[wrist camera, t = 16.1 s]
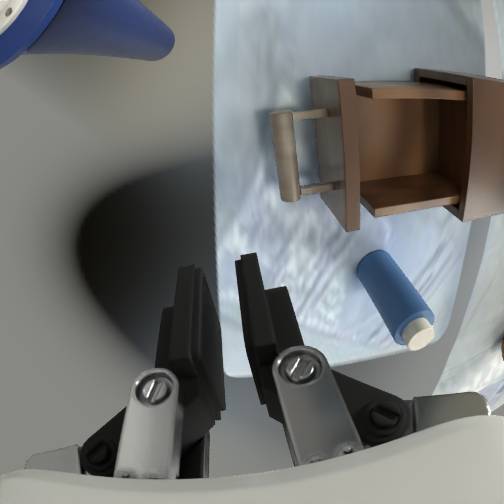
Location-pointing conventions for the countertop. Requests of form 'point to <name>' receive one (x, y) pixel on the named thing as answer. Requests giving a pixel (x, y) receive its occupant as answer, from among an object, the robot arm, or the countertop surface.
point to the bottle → (396, 300)
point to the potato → (503, 348)
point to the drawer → (377, 146)
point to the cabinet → (478, 143)
